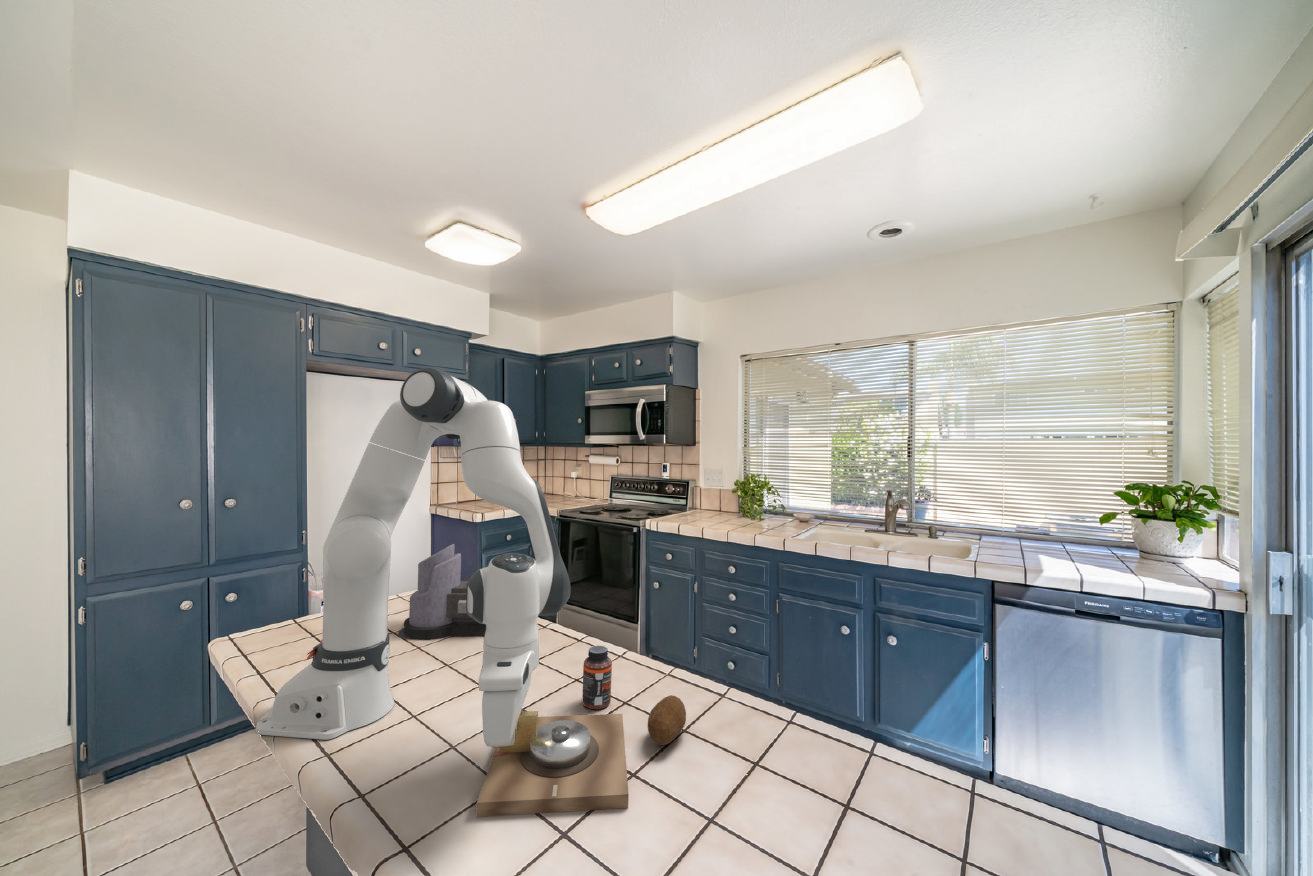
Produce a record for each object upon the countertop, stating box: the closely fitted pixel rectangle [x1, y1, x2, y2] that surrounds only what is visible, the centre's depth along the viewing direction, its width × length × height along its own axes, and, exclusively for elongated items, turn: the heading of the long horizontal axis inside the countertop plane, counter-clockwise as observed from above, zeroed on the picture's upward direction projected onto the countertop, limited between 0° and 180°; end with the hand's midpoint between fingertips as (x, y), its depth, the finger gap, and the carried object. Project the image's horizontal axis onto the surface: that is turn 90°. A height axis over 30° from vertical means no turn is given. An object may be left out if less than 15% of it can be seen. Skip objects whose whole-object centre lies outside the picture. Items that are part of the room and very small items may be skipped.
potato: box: [647, 695, 687, 746], centre depth 91 cm, size 7×12×7 cm, turn 165°
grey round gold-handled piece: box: [499, 710, 590, 768], centre depth 83 cm, size 15×10×6 cm, turn 93°
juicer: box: [397, 543, 486, 641], centre depth 141 cm, size 30×16×24 cm, turn 95°
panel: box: [475, 713, 630, 818], centre depth 83 cm, size 22×22×2 cm
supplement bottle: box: [582, 645, 613, 710], centre depth 103 cm, size 6×6×11 cm
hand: (509, 741), depth 80 cm, fingers closed
